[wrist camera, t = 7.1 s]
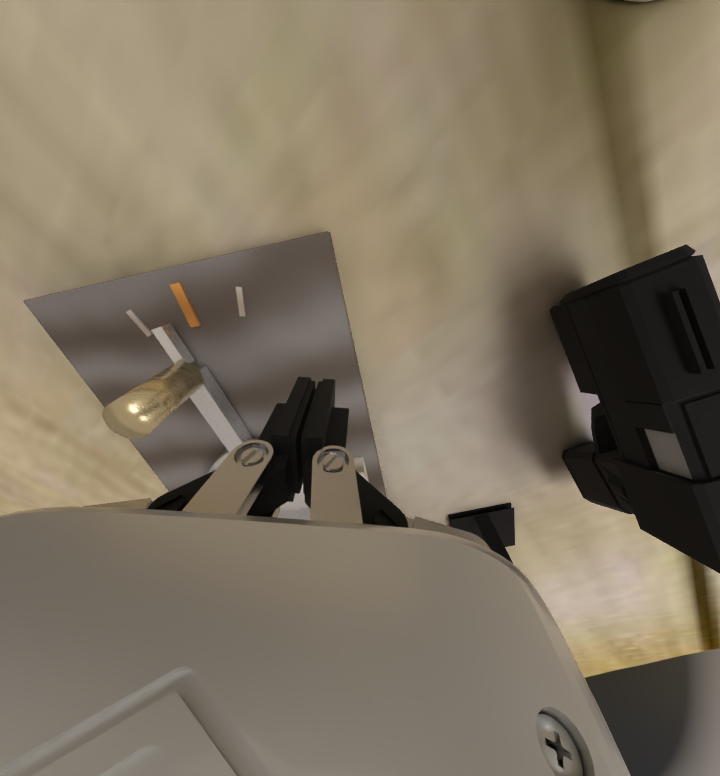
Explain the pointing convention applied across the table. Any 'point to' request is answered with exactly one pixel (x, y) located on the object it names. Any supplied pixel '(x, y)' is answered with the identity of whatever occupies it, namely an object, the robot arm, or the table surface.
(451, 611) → the robot arm
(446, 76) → the table surface
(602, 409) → the toy
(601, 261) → the table surface
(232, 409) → the crank handle
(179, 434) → the level board
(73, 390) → the table surface
